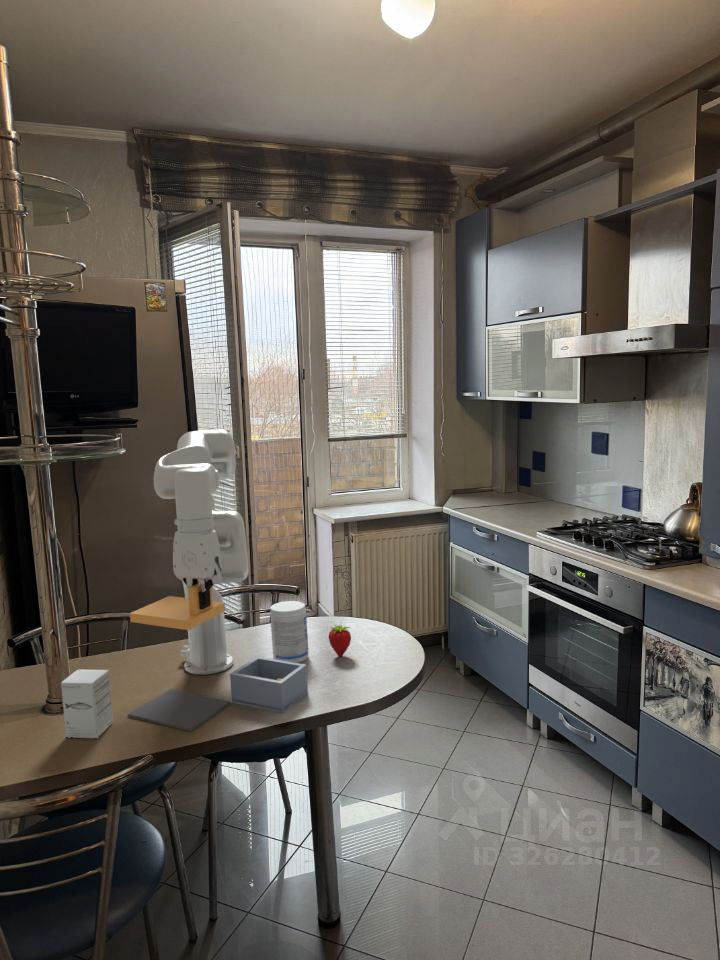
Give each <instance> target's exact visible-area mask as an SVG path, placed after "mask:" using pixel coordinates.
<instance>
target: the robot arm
mask: <svg viewBox="0 0 720 960" xmlns="http://www.w3.org/2000/svg"><path fill="white" fill-rule="evenodd" d="M236 459H237V458H236V445H235V441H234V438H233V436H232V434H231V433H230V432H229V431H227V430H225V429H211V430H209V429H207V430H193V431H187V432H185V433H184V434H182V435H181V436H180V437H179V440H178V442H177V446H176V450H173V451H171V452H169V453H167V454H165V455H163V456H161V457H160V458H159V459H158V460H157V462H156V463H155V467H154V473H153V489H154V491H155V493H156V495H157V496H158V497H159V498H161V499H162V500H163V499H164V500H165V499H166V500H171V499H175V510H176V518H175V519H174V521H173V523H174V525H176V526H177V531H175V532H174V537H173V545H172V566H173V568H172V569H173V573H174V575H175V576H176V579H178V580H180V581H181V582H182V585H183V591H184V598H189V595H188V588H189V587H191V586H193V585H196V584H198V583H200V590H201V591H200V592H199V605H200V609H202V610H203V609H205V608H207V607H209V606H210V605H211V598H210V589H211V592H212V601H216V602H224V600H223V597H222V595H221V594H220V592H219V591H218V590H217V589H216V588H215V587H214V585H221V584H222V585H223V584H232V583H238V582H239V583H240V582H243V581H244V580H246V579H247V578H248V575H249V556H248V547H247V537H246V529H245V522H244V519H243V517H242V515H241V514H240V512H239V511H235V510H219V511H216V506H215V503H216V501H215V498H214V496H213V495H214V494H215V493H216V491H217V490H218V489H219V487H220V480H226V479H227V480H228V479H231V478H232V477H234V474H235V473H236V467H237V466H236V465H237V464H236V462H237V461H236ZM225 623H226V622H225V611H224V612H222V613H220V614H219V615H217V616H215V617H213V618H211V619H209V620H207V621H205V622H203V623H201V624H199V625H198V626H196V627H194V628H192V629H190V630H187V635H188V636H187V637H188V645H185V644H184V645H183V646H182V647H181V650H180V651H179V655H180V656H181V657H182V656H183V657H186V661H185V662H184V670H185V671H186V672H187V673H188V674H189V673H190V674H192V675H199V676H200V675H201V676H204V675H205V676H206V675H213V674H216V673H217V674H218V673H220V672H224V671H226V670H228V669H229V668H230V667H231V666H232V665H233V664H234V658H233V656H232V655H230V654H228V653H227V639H226V637H227V636H226V626H225Z"/></svg>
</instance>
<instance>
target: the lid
mask: <svg viewBox="0 0 720 960" xmlns="http://www.w3.org/2000/svg"><path fill="white" fill-rule="evenodd" d="M200 591H201V590H200V583H198V584H196V585H193V586H191V587H189V588H188V595H189V598H185V597H181V596H173V595H172V596H171V595H169V596H166V597H164V598H162V599H160V600H157V601H155V602H152V603H150V604H147V605H145V606H143V607H141V608H138V609H137V610H134V611H132V612H130V613H129V618H130V623H134V624H135V623H137V624H143V625H149V626H150V625H151V626H155V627H156V626H157V627H163V628H164V627H165V628H172V629H179V630H183V631H185V630H186V631H188V630H190V629H192V628H194V627H196V626H198V625H199V624H201V623H203V622H205V621H207V620H209V619H211V618H213V617H215V616H217V615H219V614H220V613H222V612H224V613H225V612H226V605H225V602H224V601H223V602H216V601H212V592H211V589H210V598H211V605H210V606H209V607H207V608H205V609H203V610H202V609H200V605H199V592H200Z"/></svg>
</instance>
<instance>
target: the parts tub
mask: <svg viewBox="0 0 720 960" xmlns="http://www.w3.org/2000/svg"><path fill="white" fill-rule="evenodd" d="M229 681H230V694H231V704H237V705H242V706H246V707H251V708H256V709H261V710H266V711H270V712H274V713H275V712H276V713H281V714H283V713H285V712H286V711H287V710H288V709H290V708H291V707H292V706H293V705H295V704H297V702H298V701H300V700H301V699H302V698H303V697H305V696H306V695H307V694H309V693H308V692H309V688H308V686H309V685H308V670H307V664H304V663H293V662H287V661H281V660H275V659H274V658H269V657H263V656H255V658H252V659H251V660H249V661H248V662H247V663H245V664H243V665H241V666H240V667H238V668H237V669H236V670H234V671H232V672H231V673H230V674H229Z"/></svg>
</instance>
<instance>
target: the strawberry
mask: <svg viewBox="0 0 720 960" xmlns="http://www.w3.org/2000/svg"><path fill="white" fill-rule="evenodd" d="M342 622H343V620H341V621H340V623H339V625H337V624H336V625H334V626H335V627H331V628H330V629H331V630H330V631H329V633H328V641H329V644H330V646H331V648H332V650H333V651H334V652H335V653H336V655H337V656H338V657H339V658H341V657H343V656H344V654H345V652H347V650H348V649H349V647H350V644H351V641H352V640H351V639H352V636H351V632H350V631H349V630H348V629H350V628H351V627H349V626H344V627H343V625H341V624H342Z"/></svg>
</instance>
